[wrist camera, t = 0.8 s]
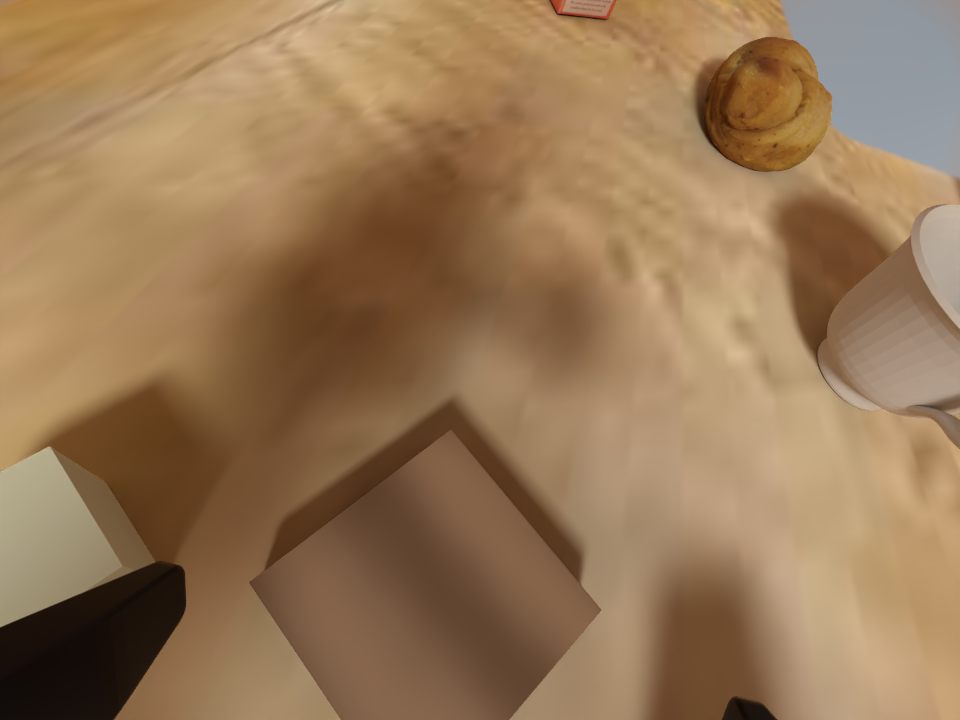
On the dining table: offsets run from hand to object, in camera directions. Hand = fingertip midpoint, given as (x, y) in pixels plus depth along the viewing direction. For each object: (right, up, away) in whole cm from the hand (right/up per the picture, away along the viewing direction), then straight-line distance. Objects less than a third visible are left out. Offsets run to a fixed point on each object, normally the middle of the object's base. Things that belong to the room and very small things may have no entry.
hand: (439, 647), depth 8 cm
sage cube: (-15, -4, +12) cm, 20 cm away
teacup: (+26, +2, +27) cm, 37 cm away
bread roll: (+24, +25, +38) cm, 51 cm away
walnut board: (-2, -6, +15) cm, 16 cm away
